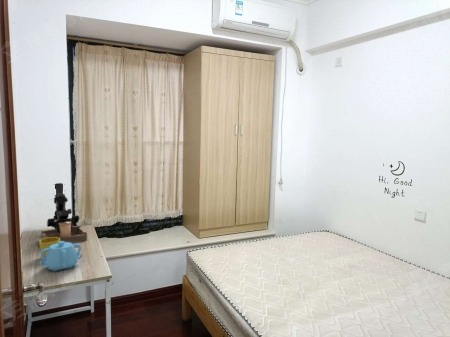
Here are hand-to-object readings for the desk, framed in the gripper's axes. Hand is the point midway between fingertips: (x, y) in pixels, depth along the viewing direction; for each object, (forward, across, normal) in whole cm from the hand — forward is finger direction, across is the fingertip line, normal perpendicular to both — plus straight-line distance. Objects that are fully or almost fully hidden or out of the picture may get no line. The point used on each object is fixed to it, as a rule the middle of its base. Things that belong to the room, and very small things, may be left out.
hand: (65, 231), depth 201 cm
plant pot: (+20, -13, -10) cm, 26 cm away
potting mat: (+12, 0, -2) cm, 12 cm away
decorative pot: (+34, -11, -24) cm, 43 cm away
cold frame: (+2, 0, +8) cm, 8 cm away
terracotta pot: (+4, 0, +6) cm, 7 cm away
